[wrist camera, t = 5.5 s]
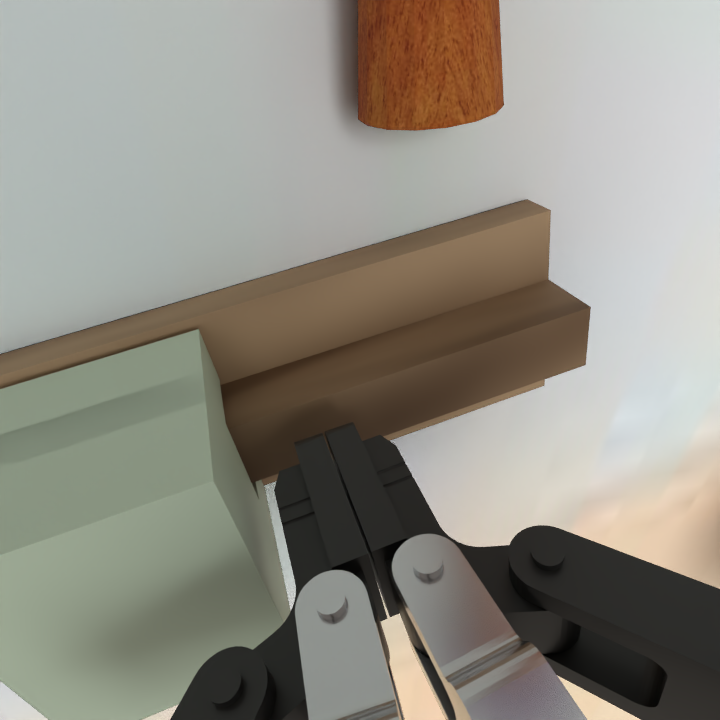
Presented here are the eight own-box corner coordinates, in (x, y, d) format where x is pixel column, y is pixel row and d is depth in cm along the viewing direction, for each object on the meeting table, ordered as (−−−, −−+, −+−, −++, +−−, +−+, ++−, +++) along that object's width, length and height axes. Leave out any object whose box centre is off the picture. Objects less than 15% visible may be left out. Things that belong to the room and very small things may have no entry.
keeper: (-9, 391, 12) (-109, 593, 8) (198, 329, 13) (213, 481, 9) (105, 544, 16) (79, 745, 11) (264, 487, 17) (299, 654, 12)
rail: (-491, 498, 12) (-831, 739, 8) (527, 199, 16) (650, 256, 12) (-254, 639, 16) (-404, 853, 11) (525, 367, 19) (619, 456, 15)
